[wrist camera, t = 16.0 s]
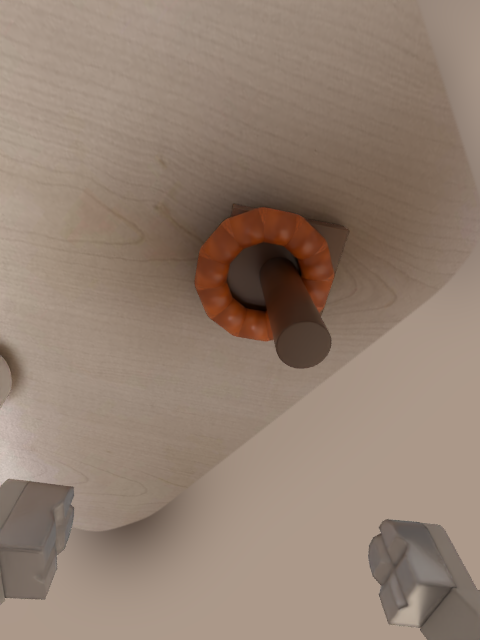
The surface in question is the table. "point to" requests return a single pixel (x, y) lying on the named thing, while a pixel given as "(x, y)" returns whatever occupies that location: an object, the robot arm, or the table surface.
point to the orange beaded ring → (248, 233)
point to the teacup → (4, 380)
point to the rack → (285, 294)
